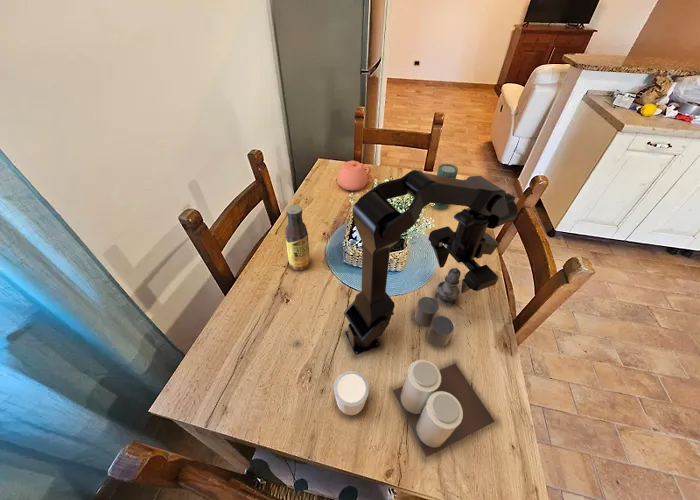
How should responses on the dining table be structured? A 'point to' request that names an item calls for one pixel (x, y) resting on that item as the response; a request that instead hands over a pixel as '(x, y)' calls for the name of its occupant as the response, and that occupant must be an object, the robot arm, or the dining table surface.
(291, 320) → the dining table surface
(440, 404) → the white shaker front
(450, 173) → the can
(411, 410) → the white shaker back
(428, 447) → the walnut board
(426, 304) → the grey jar
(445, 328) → the grey jar
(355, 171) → the sugar bowl
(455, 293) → the grey chess piece
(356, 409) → the white candle jar
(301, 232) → the sauce bottle
